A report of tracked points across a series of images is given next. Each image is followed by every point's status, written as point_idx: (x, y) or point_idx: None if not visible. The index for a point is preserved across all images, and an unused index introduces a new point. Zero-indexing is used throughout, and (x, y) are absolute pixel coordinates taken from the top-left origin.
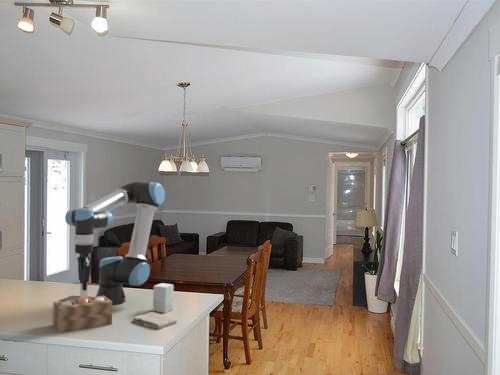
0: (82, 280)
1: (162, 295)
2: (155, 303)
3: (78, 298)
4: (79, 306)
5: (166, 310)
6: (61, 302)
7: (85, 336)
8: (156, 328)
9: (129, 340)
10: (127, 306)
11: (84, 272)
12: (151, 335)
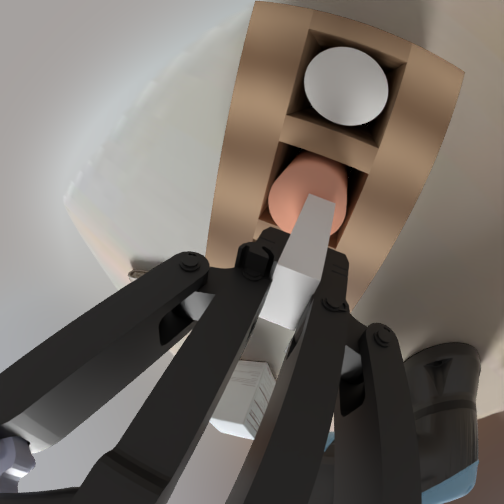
0: (225, 281)
1: (221, 397)
2: (252, 379)
3: (339, 188)
4: (228, 119)
5: None
6: (411, 90)
7: (182, 91)
8: (138, 270)
9: (98, 175)
10: None
11: (59, 333)
12: (107, 231)
